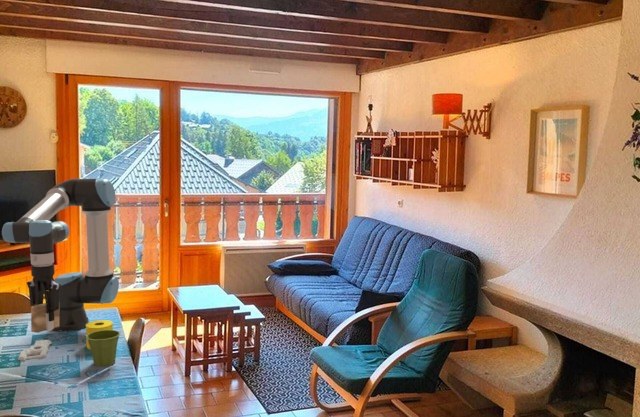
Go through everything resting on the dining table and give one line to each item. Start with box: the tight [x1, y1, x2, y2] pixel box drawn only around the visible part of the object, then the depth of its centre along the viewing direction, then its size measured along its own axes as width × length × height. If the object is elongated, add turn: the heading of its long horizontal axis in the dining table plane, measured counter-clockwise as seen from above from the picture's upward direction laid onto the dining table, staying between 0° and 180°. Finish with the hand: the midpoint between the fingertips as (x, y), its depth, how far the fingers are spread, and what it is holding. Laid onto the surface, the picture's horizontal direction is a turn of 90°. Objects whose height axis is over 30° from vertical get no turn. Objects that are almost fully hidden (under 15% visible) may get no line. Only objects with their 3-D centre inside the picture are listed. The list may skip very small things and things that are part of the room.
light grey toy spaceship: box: [17, 339, 52, 362], centre depth 236 cm, size 18×4×10 cm
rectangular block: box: [30, 302, 60, 334], centre depth 219 cm, size 3×10×9 cm, turn 159°
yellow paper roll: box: [85, 319, 114, 350], centre depth 243 cm, size 10×10×9 cm
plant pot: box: [85, 329, 121, 367], centre depth 225 cm, size 12×12×11 cm
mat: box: [20, 375, 54, 383], centre depth 219 cm, size 16×14×1 cm
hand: (45, 328), depth 219 cm, fingers closed on rectangular block, 3 cm apart
